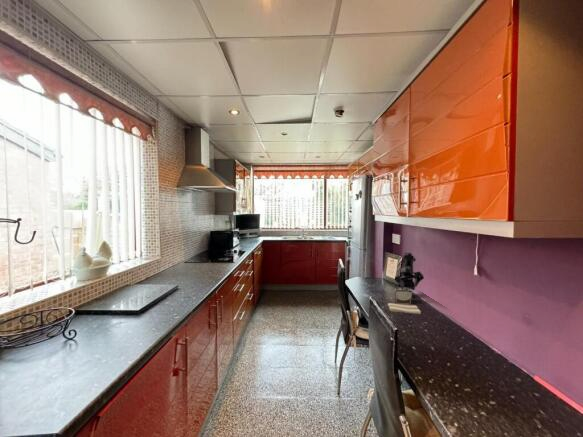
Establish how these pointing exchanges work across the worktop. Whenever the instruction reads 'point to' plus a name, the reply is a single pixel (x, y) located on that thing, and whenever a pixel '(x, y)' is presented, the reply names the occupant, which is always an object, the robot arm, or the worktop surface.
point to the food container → (403, 295)
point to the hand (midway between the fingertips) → (408, 288)
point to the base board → (404, 308)
